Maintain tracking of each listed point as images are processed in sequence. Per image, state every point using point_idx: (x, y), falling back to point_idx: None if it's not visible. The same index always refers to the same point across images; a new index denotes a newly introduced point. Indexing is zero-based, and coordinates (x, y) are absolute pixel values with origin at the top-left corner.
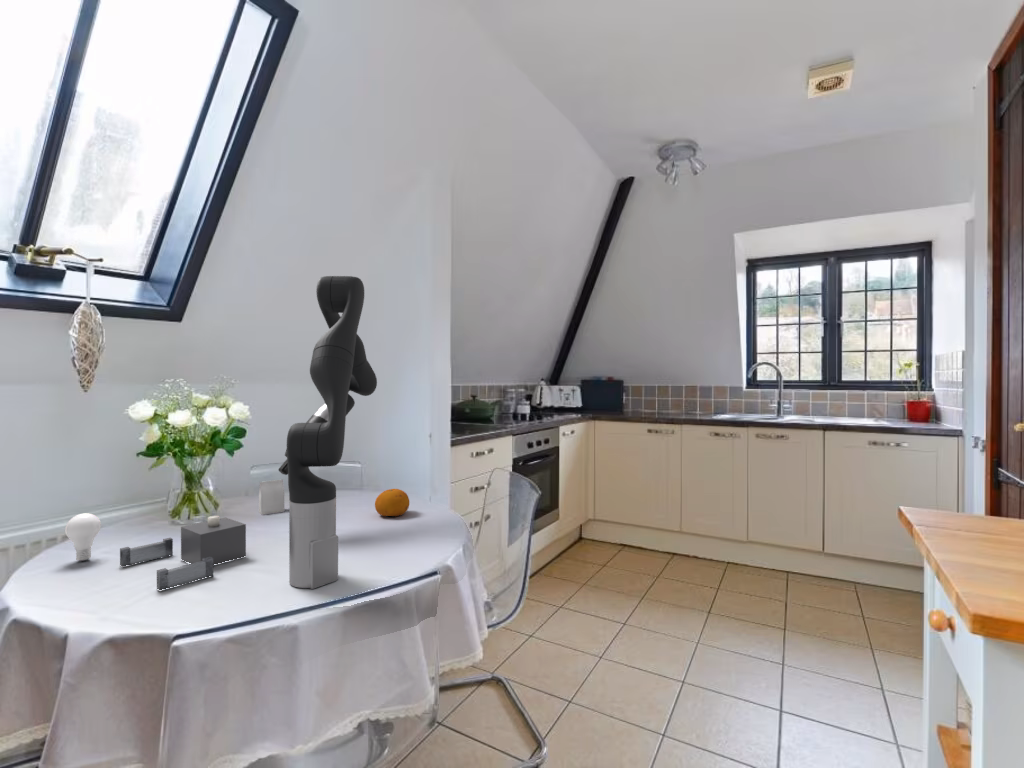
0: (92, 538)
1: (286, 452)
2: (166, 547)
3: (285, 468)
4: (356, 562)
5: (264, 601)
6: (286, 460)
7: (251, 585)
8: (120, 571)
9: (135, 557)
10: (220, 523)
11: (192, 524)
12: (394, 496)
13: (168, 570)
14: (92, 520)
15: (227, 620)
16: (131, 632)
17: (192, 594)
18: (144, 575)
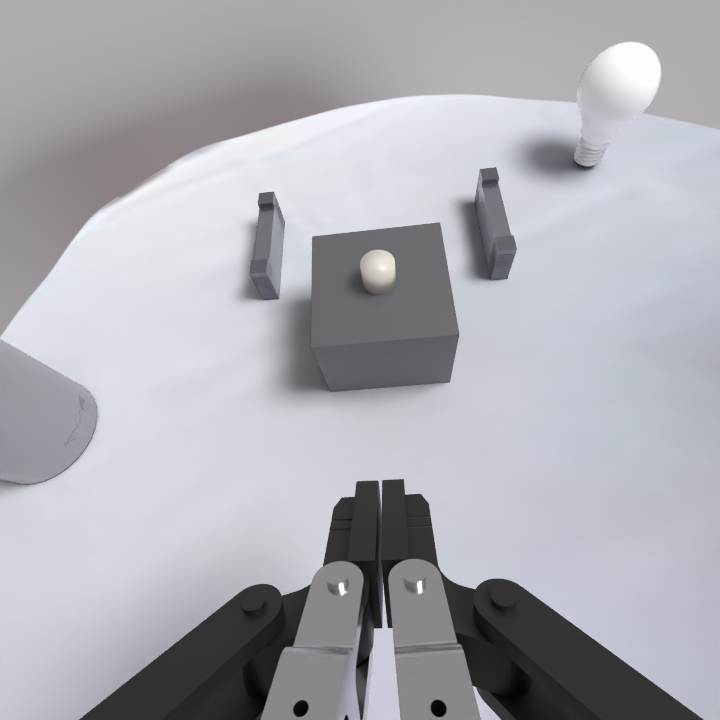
0: (588, 124)
1: (537, 618)
2: (492, 252)
3: (342, 507)
4: (15, 585)
5: (64, 321)
6: (395, 543)
7: (149, 333)
8: (450, 197)
9: (480, 207)
10: (386, 300)
11: (442, 246)
12: None
13: (268, 210)
14: (599, 76)
15: (64, 262)
16: (157, 179)
17: (210, 254)
18: (387, 221)
